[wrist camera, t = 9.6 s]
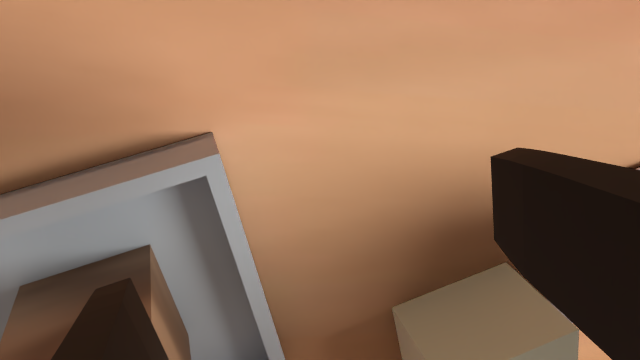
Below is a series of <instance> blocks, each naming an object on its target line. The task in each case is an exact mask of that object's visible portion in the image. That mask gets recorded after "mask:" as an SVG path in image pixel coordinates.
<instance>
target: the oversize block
mask: <svg viewBox="0 0 640 360" xmlns="http://www.w3.org/2000/svg"><path fill="white" fill-rule="evenodd" d="M392 311H393V316H394V321H395V326H396V331H397V336H398V341H399V346H400V351H401V356H402V360H578V342H579V329H578V328H577V327H576V326H575V325H574V324H572V323H571V322H570V321H569V320H568V319H567V318H566V317H565V316H564V315H563V314H562V313H561V312H559V311H558V310H557V309H556V308H555V307H554V306H553V305H552V304H551V303H550V302H549V301H548V300H546V299H545V298H544V297H543V296H542V295H541V294H540V293H539V292H538V291H537V290H536V289H535V288H533V287H532V286H531V285H530V284H529V283H528V282H527V281H526V280H525V279H524V278H523V277H522V276H520V275H519V274H518V273H517V272H516V271H515V270H514V269H513V268H512V267H511V266H510V265H509V264H507V263H506V262H505V263H503V264H500V265H498V266H495V267H493V268H490V269H488V270H485V271H483V272H480V273H477V274H475V275H472V276H470V277H467V278H465V279H462V280H460V281H457V282H455V283H452V284H450V285H447V286H445V287H442V288H440V289H437V290H434V291H432V292H429V293H427V294H424V295H422V296H419V297H417V298H414V299H412V300H409V301H407V302H404V303H402V304H399V305H397V306H394V307H392Z"/></svg>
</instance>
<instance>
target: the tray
mask: <svg viewBox="0 0 640 360" xmlns="http://www.w3.org/2000/svg"><path fill="white" fill-rule="evenodd" d="M149 244H150V245H151V248H152V250H153V252H154V255H155V257H156V259H157V262H158V264H159V267H160V269H161V271H162V274H163V276H164V278H165V281H166V283H167V285H168V288H169V290H170V292H171V295H172V297H173V300H174V302H175V304H176V307H177V309H178V311H179V314H180V316H181V318H182V321H183V323H184V325H185V328H186V330H187V333H188V335H189V344H190V354H191V360H285V357H284V354H283V351H282V348H281V344H280V341H279V338H278V335H277V332H276V329H275V326H274V323H273V320H272V316H271V313H270V310H269V307H268V304H267V301H266V298H265V295H264V291H263V288H262V285H261V282H260V279H259V276H258V273H257V270H256V267H255V263H254V260H253V257H252V254H251V251H250V248H249V245H248V242H247V239H246V235H245V232H244V229H243V226H242V223H241V220H240V217H239V214H238V210H237V207H236V204H235V201H234V198H233V195H232V192H231V189H230V186H229V182H228V179H227V176H226V173H225V170H224V167H223V164H222V161H221V157H220V154H219V151H218V148H217V145H216V142H215V139H214V136H213V133H212V132H211V133H207V134H204V135H201V136H197V137H194V138H190V139H187V140H184V141H180V142H177V143H173V144H170V145H167V146H163V147H160V148H157V149H153V150H150V151H146V152H143V153H140V154H136V155H133V156H129V157H126V158H123V159H119V160H116V161H113V162H109V163H106V164H102V165H99V166H96V167H92V168H89V169H85V170H82V171H79V172H75V173H72V174H69V175H65V176H62V177H58V178H55V179H52V180H48V181H45V182H42V183H38V184H35V185H31V186H28V187H25V188H21V189H18V190H14V191H11V192H8V193H4V194H1V195H0V341H1V338H2V336H3V333H4V330H5V327H6V324H7V321H8V318H9V316H10V313H11V310H12V307H13V304H14V301H15V298H16V296H17V293H18V290H19V287H20V286H22V285H25V284H28V283H31V282H34V281H37V280H40V279H43V278H47V277H50V276H53V275H56V274H59V273H62V272H65V271H68V270H71V269H75V268H78V267H81V266H84V265H87V264H90V263H93V262H96V261H100V260H103V259H106V258H109V257H112V256H115V255H118V254H121V253H124V252H128V251H131V250H134V249H137V248H140V247H143V246H146V245H149Z"/></svg>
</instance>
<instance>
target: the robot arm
mask: <svg viewBox="0 0 640 360" xmlns="http://www.w3.org/2000/svg"><path fill="white" fill-rule="evenodd" d="M491 175H492V198H493V222H494V240H495V241H496V243H497V244H498V245H499V246H500V248H501V249H502V250H503V252H504V253H505V254H506V256H507V257H508V258H509V259H510V261H511V262H512V263H513V264H514V265H515V267H516V268H517V269H518V270H519V271H520V273H521V274H522V275H523V276H524V277H525V278H526V279H527V280H528V281H529V282H530V283H531V284H532V285H533V286H534V287H535V288H536V289H537V290H538V291H539V292H540V293H541V294H542V295H543V296H545V297H546V298H547V300H548V301H549V302H550V303H551V304H552V305H553V306H554V307H555V308H556V309H557V310H558V311H559V312H561V313H562V314H563V315H564V316H565V317H566V318H567V319H568V320H569V321H570V322H571V323H573V324H574V325H576V326H577V327H578V328H579V329H580V330H581V331H582V332H583V333H584V334H585V335H586V336H587V337H588V338H590V339H591V340H592V341H593V342H594V343H595V344H596V345H597V346H598V347H599V348H600V349H601V350H602V351H604V352H605V353H606V354H607V355H608V356H609V357H610V358H611V359H612V360H640V168H637V169H631V168H626V167H621V166H616V165H611V164H606V163H601V162H597V161H592V160H587V159H582V158H577V157H572V156H567V155H562V154H557V153H552V152H546V151H540V150H534V149H526V148H515V149H512V150H509V151H506V152H503V153H500V154H497V155H494V156H491ZM51 360H169V358H168V356H167V354H166V352H165V350H164V348H163V346H162V344H161V341H160V339H159V337H158V335H157V333H156V331H155V329H154V327H153V324H152V322H151V320H150V318H149V316H148V314H147V312H146V310H145V307H144V305H143V303H142V301H141V299H140V297H139V295H138V293H137V291H136V288H135V286H134V284H133V282H132V280H131V278H127V279H124V280H121V281H118V282H115V283H112V284H109V285H106V286H103V287H100V288H97V289H95V291H94V292H93V293H92V295H91V296H90V298H89V300H88V301H87V303H86V304H85V306H84V307H83V309H82V311H81V312H80V314H79V316H78V317H77V319H76V320H75V322H74V324H73V325H72V327H71V329H70V330H69V332H68V333H67V335H66V337H65V338H64V340H63V341H62V343H61V345H60V346H59V348H58V349H57V351H56V352H55V354H54V355H53V357H52V359H51Z"/></svg>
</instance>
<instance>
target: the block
mask: <svg viewBox="0 0 640 360" xmlns="http://www.w3.org/2000/svg"><path fill="white" fill-rule="evenodd" d="M127 278H131V280H132V282H133V284H134V286H135V288H136V291H137V293H138V295H139V297H140V299H141V301H142V303H143V305H144V307H145V310H146V312H147V314H148V316H149V318H150V320H151V322H152V324H153V327H154V329H155V331H156V333H157V335H158V337H159V339H160V341H161V344H162V346H163V348H164V350H165V352H166V354H167V356H168V358H169V360H191V354H190V344H189V335H188V333H187V330H186V328H185V325H184V323H183V321H182V318H181V316H180V314H179V311H178V309H177V307H176V304H175V302H174V300H173V297H172V295H171V292H170V290H169V288H168V285H167V283H166V281H165V278H164V276H163V274H162V271H161V269H160V267H159V264H158V262H157V259H156V257H155V255H154V252H153V250H152V248H151V245H150V244H149V245H146V246H143V247H140V248H137V249H134V250H131V251H128V252H124V253H121V254H118V255H115V256H112V257H109V258H106V259H103V260H100V261H96V262H93V263H90V264H87V265H84V266H81V267H78V268H75V269H71V270H68V271H65V272H62V273H59V274H56V275H53V276H50V277H47V278H43V279H40V280H37V281H34V282H31V283H28V284H25V285H22V286H20V287H19V290H18V293H17V296H16V298H15V301H14V304H13V307H12V310H11V313H10V316H9V318H8V321H7V324H6V327H5V330H4V333H3V336H2V338H1V341H0V360H51V359H52V357H53V355H54V354H55V352H56V351H57V349H58V348H59V346H60V345H61V343H62V341H63V340H64V338H65V337H66V335H67V333H68V332H69V330H70V329H71V327H72V325H73V324H74V322H75V320H76V319H77V317H78V316H79V314H80V312H81V311H82V309H83V307H84V306H85V304H86V303H87V301H88V300H89V298H90V296H91V295H92V293H93V292H94V291H95V289H97V288H100V287H103V286H106V285H109V284H112V283H115V282H118V281H121V280H124V279H127Z"/></svg>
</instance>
